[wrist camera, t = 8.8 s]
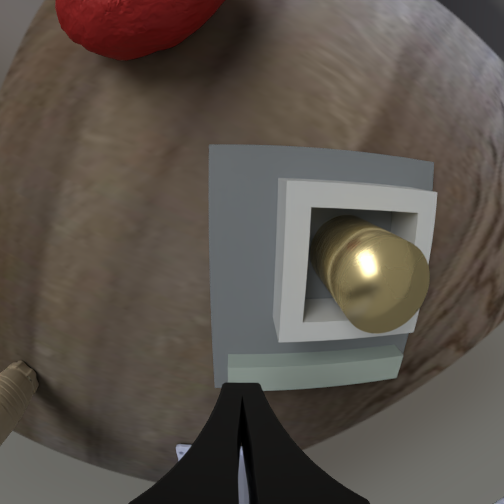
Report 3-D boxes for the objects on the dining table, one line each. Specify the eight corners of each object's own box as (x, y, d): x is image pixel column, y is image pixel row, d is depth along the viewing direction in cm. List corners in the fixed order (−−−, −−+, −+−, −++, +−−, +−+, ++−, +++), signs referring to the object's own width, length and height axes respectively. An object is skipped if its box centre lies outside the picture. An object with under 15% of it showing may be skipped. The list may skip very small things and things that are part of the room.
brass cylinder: (372, 285, 19) (417, 329, 13) (306, 285, 19) (334, 336, 13) (381, 217, 18) (437, 240, 12) (313, 212, 17) (348, 236, 12)
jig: (391, 367, 22) (412, 398, 18) (215, 379, 21) (212, 416, 18) (425, 162, 18) (462, 164, 14) (210, 145, 17) (203, 140, 13)
